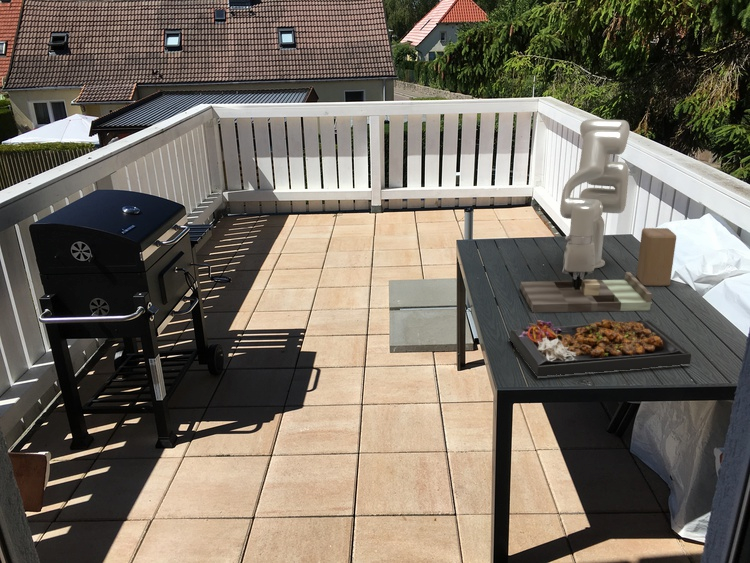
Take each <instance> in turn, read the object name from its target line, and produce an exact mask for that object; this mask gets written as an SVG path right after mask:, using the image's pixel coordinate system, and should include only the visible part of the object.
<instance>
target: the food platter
mask: <svg viewBox="0 0 750 563" xmlns="http://www.w3.org/2000/svg"><path fill="white" fill-rule="evenodd" d="M532 314H533V316H534V318H535V319H536V323H530V322H529V323H528V324H529V325H531V326H526V328H524V327H521V328H519V329H511V330H510V332H509V334H510V336H509V337H510V339H509V342H510V341H511V342H512V343H513V345H514V346H515V347H516V348H517V350H518V351H519V353H520V354H521V355H522V357H523V358H524V360H525V361H526V362H527V363H528V364H529V366H530V367H531V369H532V370H533V371H534V372H535V374H536V375H537V376H547V375H556V374H557V375H560V374H561V375H565V374H574V373H585V372H604V371H614V370H630V369H642V368H649V367H658V366H672V365H680V364H690V365H691V361H692V360H691V359H692V354H691V352H689V351H688V350H686V349H685V348H684V347H683V346H682V345H680V344H679V343H678V342H676V340H674V339H673V338H672V337H670V336H669V335H668V334H666V333H665V332H664V331H663V330H662V329H660V328H659V327H658V326H656V325H655V324H654V323H653V322H651V320H649V319H638V320H637V319H635V320H628V321H627V320H625V321H614V320H612V319H605V318H604V319H601V322H599V321H595V322H593V323H591V322H590V323H587V324H574V325H562V326H555V324H554V323H553V324H552V322H551V321H544V320H541V319H540V320H538V318H537V317H536V314H535V313H532ZM511 342H510V343H511ZM512 343H511V344H512ZM513 345H512V346H513ZM514 346H513V347H514ZM515 347H514V348H515ZM517 350H516V351H517ZM519 353H518V354H519ZM520 354H519V355H520ZM522 357H521V358H522ZM524 360H523V361H524ZM525 361H524V362H525Z"/></svg>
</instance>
